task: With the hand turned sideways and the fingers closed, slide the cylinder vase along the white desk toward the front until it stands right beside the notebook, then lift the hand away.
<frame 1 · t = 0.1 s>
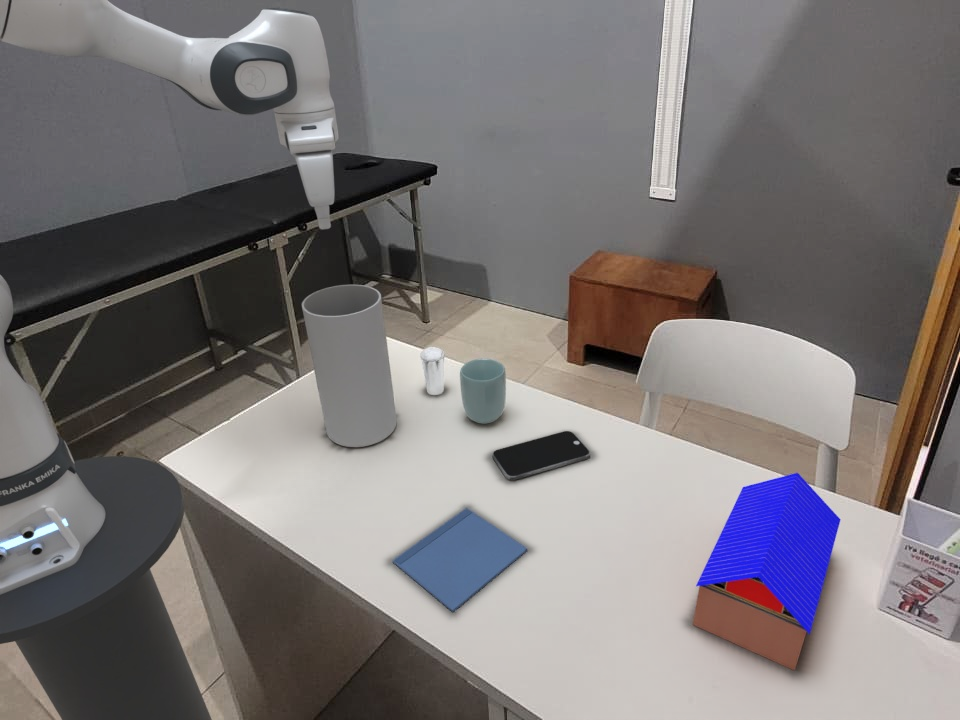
hand: (322, 219, 104), 36 cm above the table, tool pointing down, fingers open, 8 cm apart
smartphone: (541, 456, 107), on the table
house: (762, 590, 81), on the table
cup: (484, 417, 117), on the table
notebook: (460, 556, 88), on the table
cylinder vase: (362, 428, 116), on the table
milkshake: (437, 392, 126), on the table
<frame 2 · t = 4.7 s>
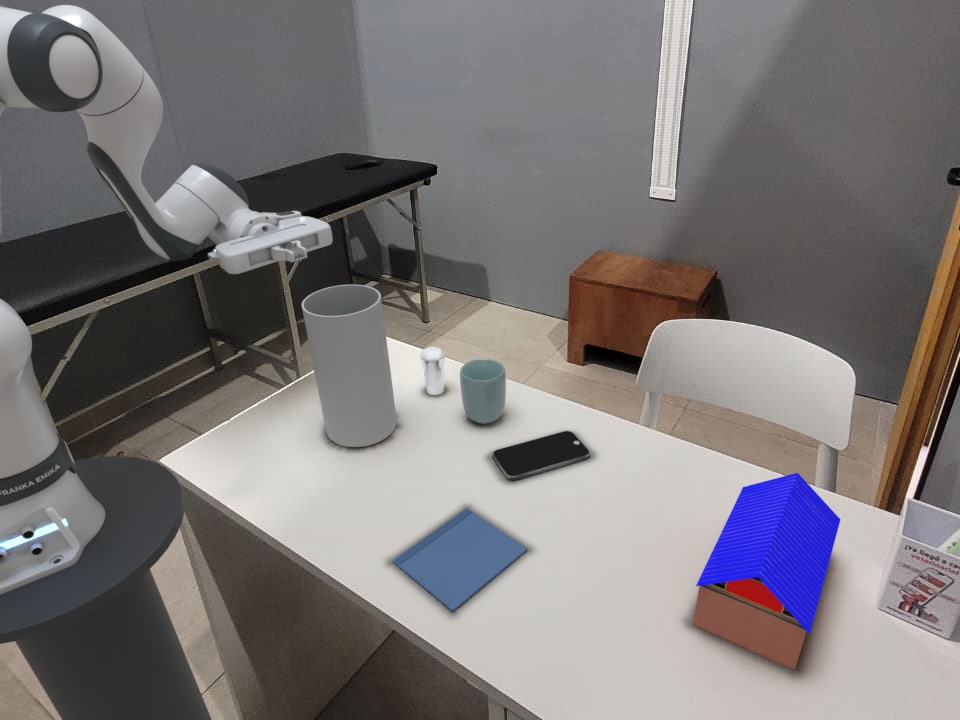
hand: (299, 255, 108), 30 cm above the table, tool horizontal, fingers closed
nothing on the table moved.
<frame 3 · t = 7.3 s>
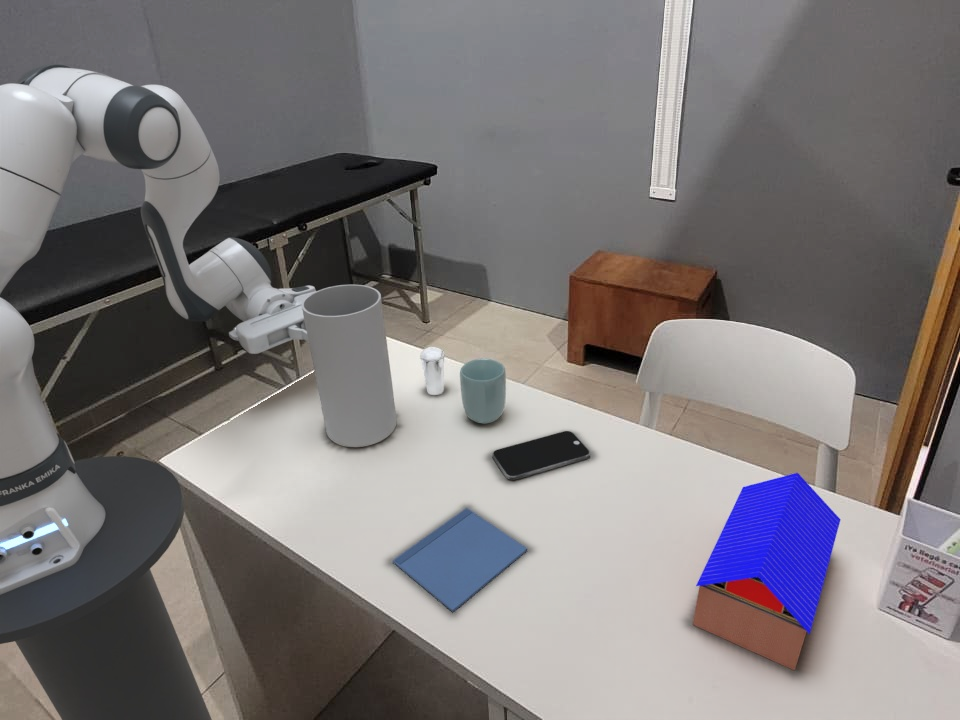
hand: (314, 335, 116), 15 cm above the table, tool horizontal, fingers closed
nothing on the table moved.
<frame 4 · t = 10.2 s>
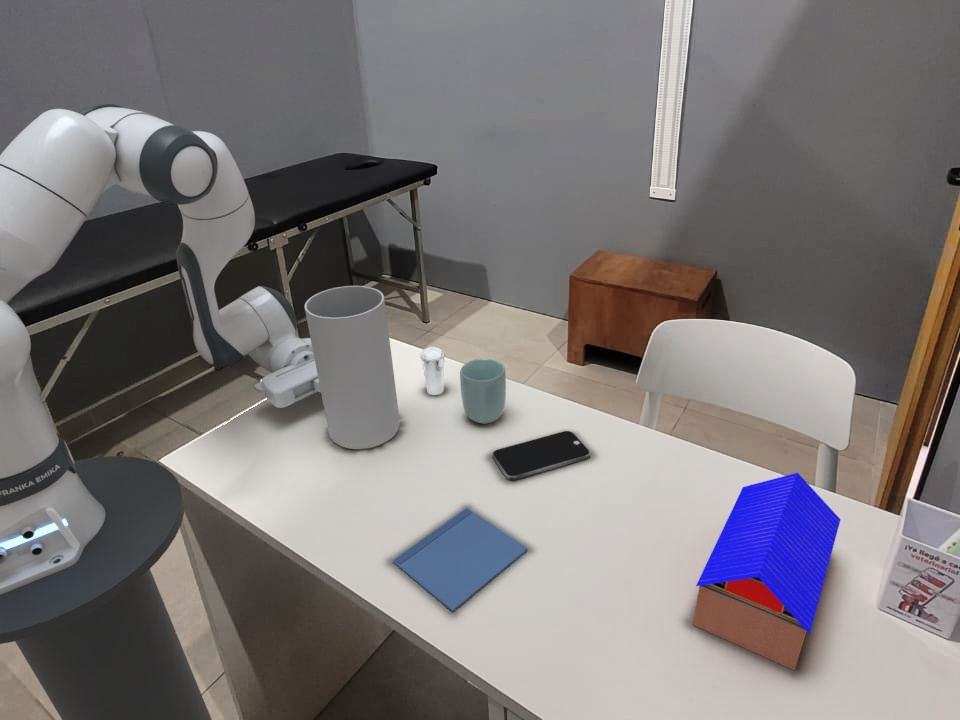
hand: (340, 388, 116), 6 cm above the table, tool horizontal, fingers closed, pressing on cylinder vase
cylinder vase: (365, 430, 115), on the table, touching gripper
everything else where it was.
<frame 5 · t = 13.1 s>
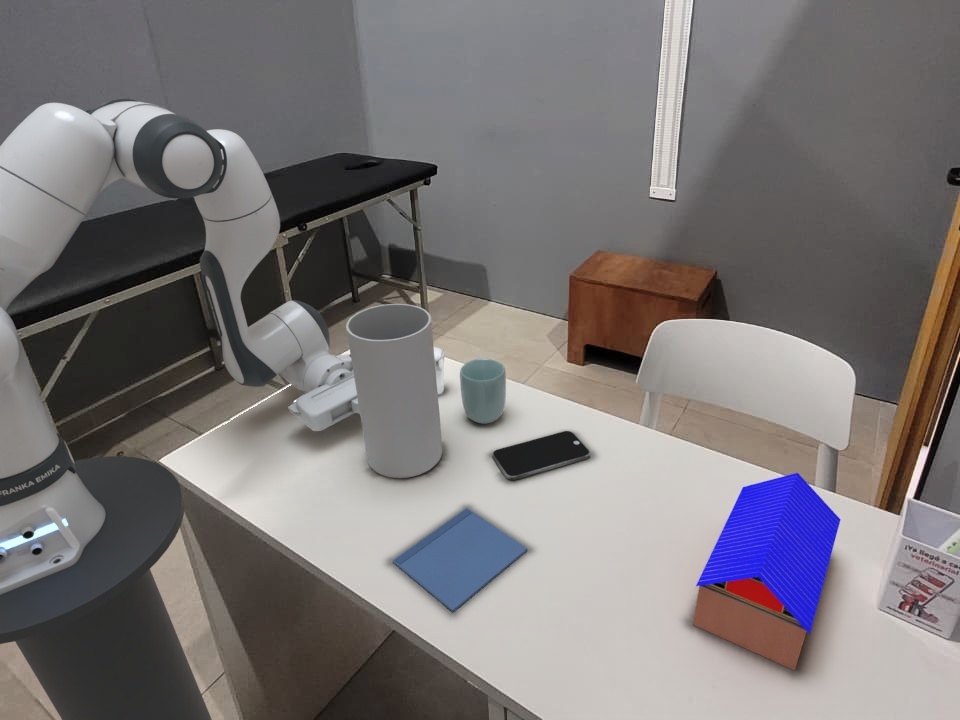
hand: (380, 409, 109), 6 cm above the table, tool horizontal, fingers closed, pressing on cylinder vase
cylinder vase: (405, 457, 108), on the table, touching gripper
everything else where it was.
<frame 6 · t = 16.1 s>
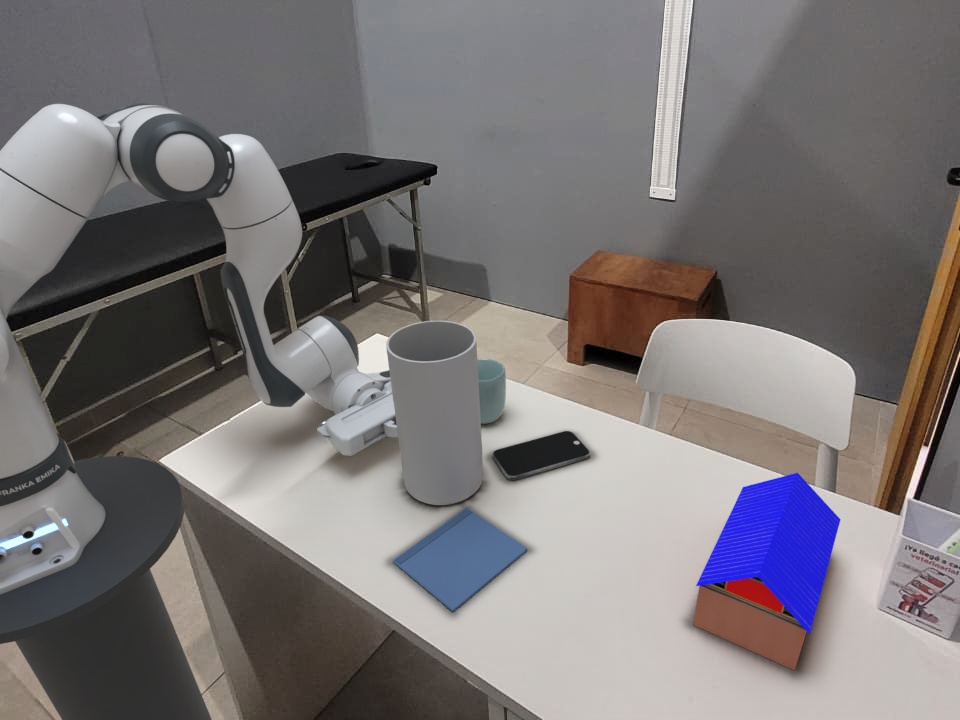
hand: (415, 433, 103), 6 cm above the table, tool horizontal, fingers closed
cylinder vase: (444, 481, 102), on the table
everything else where it was.
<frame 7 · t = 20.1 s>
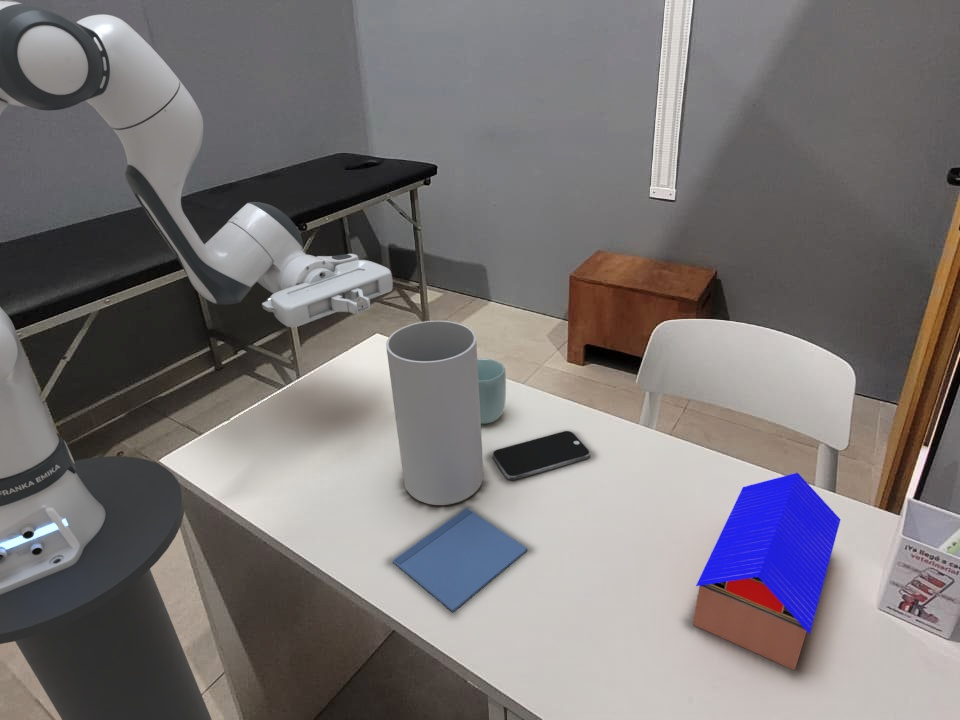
hand: (362, 306, 100), 26 cm above the table, tool horizontal, fingers closed
nothing on the table moved.
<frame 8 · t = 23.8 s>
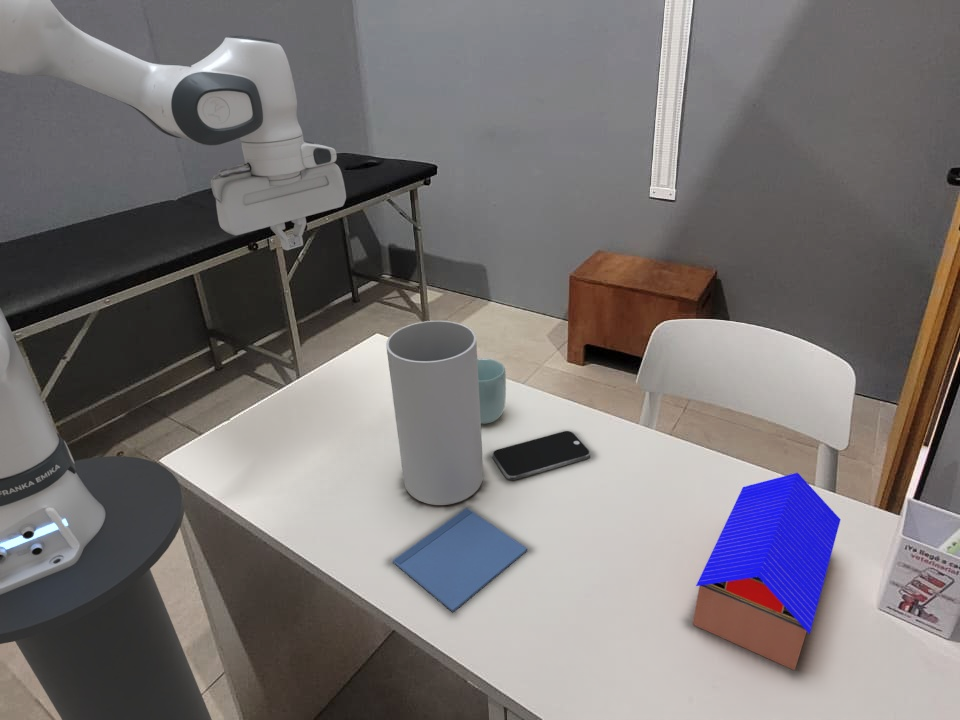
hand: (292, 247, 102), 33 cm above the table, tool pointing down, fingers closed
nothing on the table moved.
at the end: cylinder vase 16.3 cm from the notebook (horizontally); cylinder vase inside the target area (0.4 cm from its centre), on the table; cylinder vase tilted 0° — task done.
